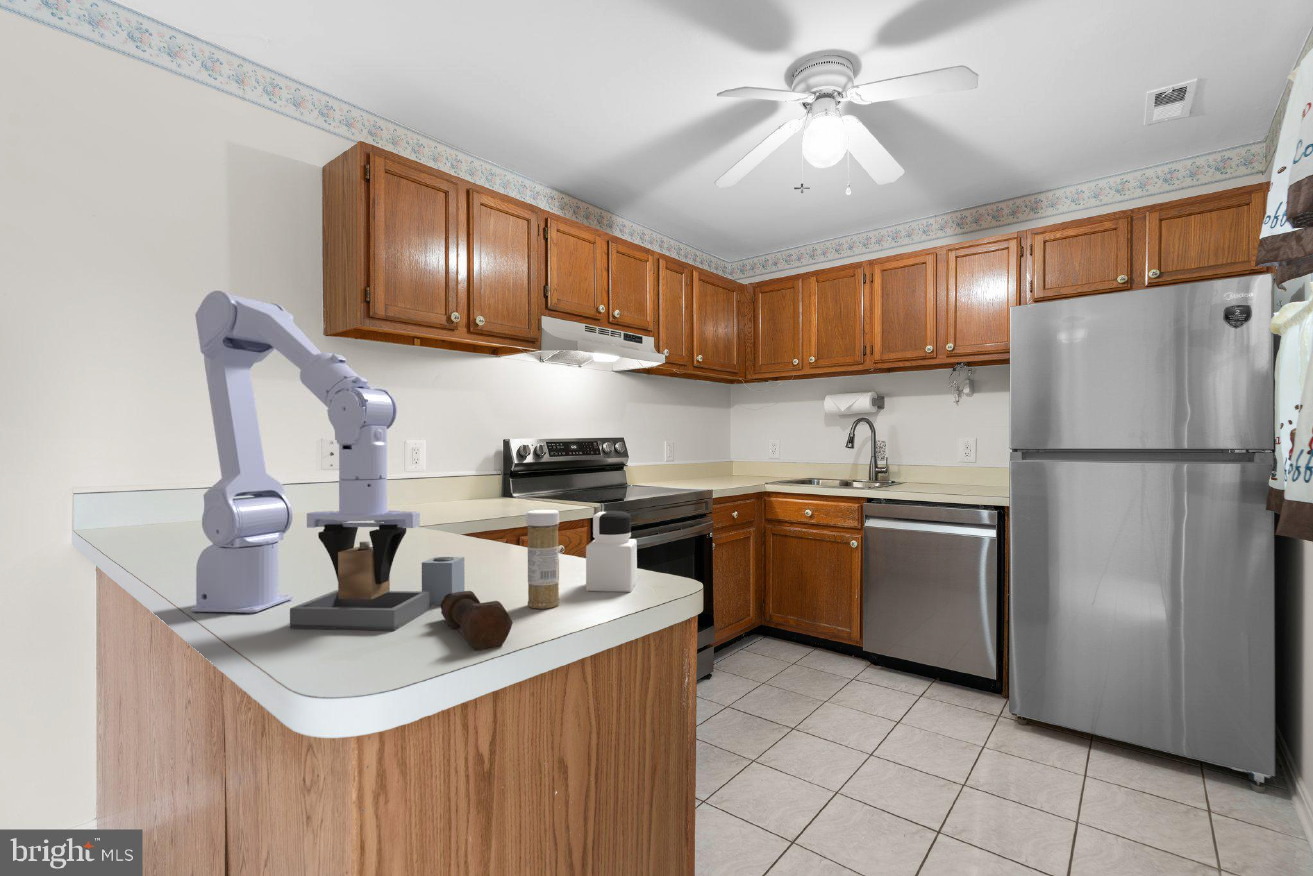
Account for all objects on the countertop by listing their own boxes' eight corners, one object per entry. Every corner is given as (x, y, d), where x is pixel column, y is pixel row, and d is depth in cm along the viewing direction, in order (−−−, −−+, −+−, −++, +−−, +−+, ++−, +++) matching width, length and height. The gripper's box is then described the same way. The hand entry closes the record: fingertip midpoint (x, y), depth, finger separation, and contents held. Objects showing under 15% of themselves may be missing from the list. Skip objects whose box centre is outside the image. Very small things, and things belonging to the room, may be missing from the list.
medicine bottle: (637, 582, 102) (636, 509, 102) (631, 592, 94) (630, 514, 95) (594, 581, 102) (594, 509, 102) (585, 591, 95) (585, 514, 95)
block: (338, 599, 79) (338, 544, 79) (357, 590, 84) (358, 539, 84) (371, 599, 79) (371, 544, 79) (389, 591, 83) (389, 539, 83)
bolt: (458, 631, 82) (496, 660, 69) (423, 617, 79) (456, 645, 67) (479, 590, 83) (520, 611, 71) (446, 575, 81) (482, 594, 69)
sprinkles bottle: (558, 600, 90) (558, 508, 90) (560, 608, 85) (560, 511, 85) (526, 602, 89) (526, 509, 89) (526, 610, 84) (526, 512, 84)
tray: (289, 628, 77) (289, 608, 77) (336, 607, 86) (336, 590, 86) (394, 630, 76) (394, 610, 76) (429, 609, 85) (429, 591, 85)
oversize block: (421, 604, 88) (421, 561, 88) (435, 596, 93) (435, 555, 93) (451, 604, 88) (451, 561, 88) (464, 597, 92) (464, 556, 92)
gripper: (429, 477, 84) (430, 576, 84) (329, 477, 86) (329, 575, 86) (404, 480, 77) (405, 588, 77) (295, 480, 79) (296, 586, 79)
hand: (363, 582), depth 81 cm, fingers closed on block, 4 cm apart
